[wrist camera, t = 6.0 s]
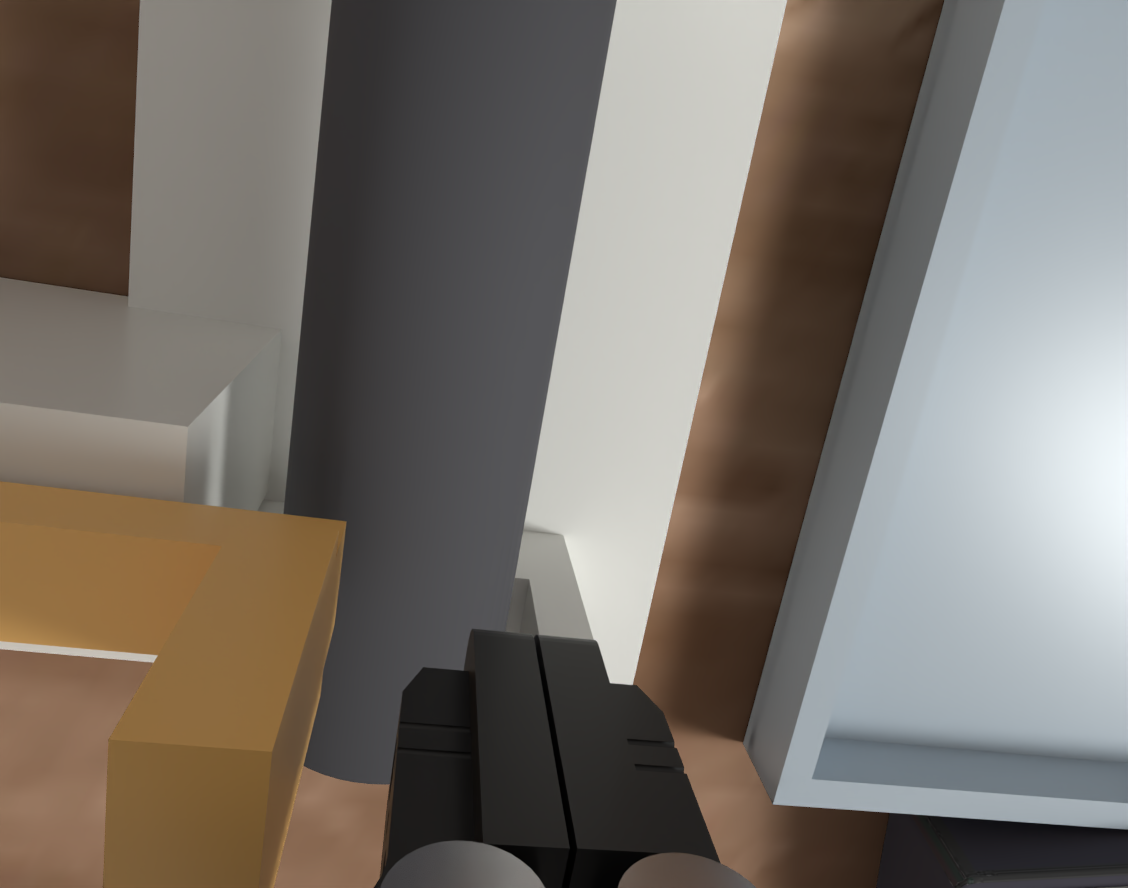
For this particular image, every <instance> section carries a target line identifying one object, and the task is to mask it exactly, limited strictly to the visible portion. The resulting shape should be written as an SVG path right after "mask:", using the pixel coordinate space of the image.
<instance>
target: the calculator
mask: <svg viewBox="0 0 1128 888" xmlns="http://www.w3.org/2000/svg"><path fill="white" fill-rule="evenodd" d="M876 888H1128V830H1126V829H1112V828H1098V827H1084V826H1070V825H1056V824H1042V823H1028V822H1014V821H1000V820H986V819H972V818H957V817H943V816H929V815H915V814H901V813H890V815H889V819H888V824H887V829H886V834H885V840H884V845H883V850H882V856H881V862H880V868H879V874H878V879H877V885H876Z"/></svg>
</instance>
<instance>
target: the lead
mask: <svg viewBox="0 0 1128 888" xmlns="http://www.w3.org/2000/svg"><path fill="white" fill-rule="evenodd" d="M616 2H617V0H332V3H331V13H330V24H329V34H328V45H327V56H326V66H325V77H324V88H323V98H322V109H321V119H320V130H319V141H318V151H317V162H316V172H315V183H314V194H313V204H312V215H311V226H310V236H309V247H308V257H307V268H306V279H305V289H304V300H303V311H302V321H301V332H300V342H299V353H298V364H297V374H296V385H295V395H294V406H293V417H292V427H291V438H290V449H289V459H288V470H287V480H286V491H285V502H284V512H283V514H287V515H296V516H304V517H313V518H321V519H330V520H339V521H346V530H345V539H344V547H343V556H342V564H341V573H340V582H339V590H338V599H337V608H336V616H335V625H334V629H333V633H332V637H331V641H330V645H329V649H328V653H327V657H326V661H325V665H324V669H323V676H322V685H321V693H320V699H319V703H318V707H317V712H316V716H315V720H314V724H313V728H312V732H311V736H310V740H309V744H308V749H307V753H306V757H305V761H304V766H305V767H307V768H309V769H311V770H314V771H316V772H319V773H321V774H324V775H327V776H330V777H334V778H337V779H341V780H346V781H351V782H357V783H366V784H390V779H391V772H392V765H393V757H394V750H395V743H396V735H397V728H398V721H399V714H400V706H401V699H402V692H403V690H404V689H405V688H406V687H407V686H408V684H409V683H410V682H411V681H412V680H413V679H414V677H415V676H416V675H417V674H418V673H419V672H420V670H421V669H422V668H423V667H427V668H439V669H450V670H462V671H464V664H465V658H466V652H467V646H468V640H469V636H470V632H471V629H481V630H492V631H503V632H505V631H506V625H507V620H508V614H509V608H510V603H511V597H512V591H513V586H514V580H515V574H516V569H517V563H518V557H519V552H520V546H521V540H522V535H523V529H524V523H525V518H526V512H527V506H528V501H529V495H530V489H531V484H532V478H533V472H534V467H535V461H536V455H537V450H538V444H539V438H540V433H541V427H542V421H543V416H544V410H545V404H546V399H547V393H548V387H549V382H550V376H551V370H552V365H553V359H554V353H555V348H556V342H557V336H558V331H559V325H560V319H561V314H562V308H563V302H564V297H565V291H566V285H567V280H568V274H569V268H570V263H571V257H572V251H573V246H574V240H575V234H576V229H577V223H578V217H579V212H580V206H581V200H582V195H583V189H584V183H585V178H586V172H587V166H588V161H589V155H590V149H591V144H592V138H593V132H594V127H595V121H596V115H597V110H598V104H599V98H600V93H601V87H602V81H603V76H604V70H605V64H606V59H607V53H608V47H609V42H610V36H611V30H612V25H613V19H614V13H615V8H616Z"/></svg>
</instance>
